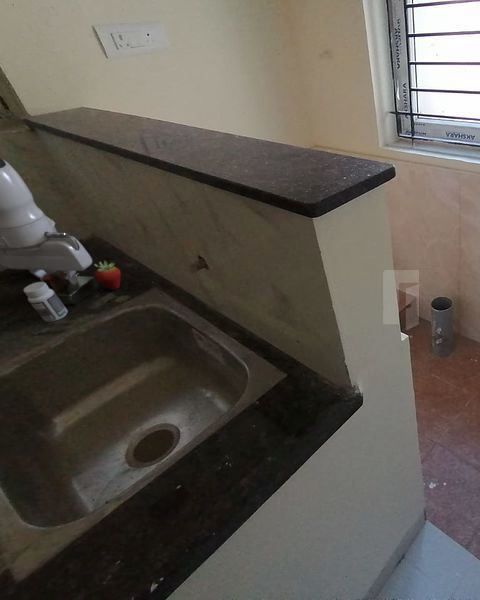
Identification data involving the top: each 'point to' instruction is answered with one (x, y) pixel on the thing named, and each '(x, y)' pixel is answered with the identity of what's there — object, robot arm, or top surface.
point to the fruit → (108, 275)
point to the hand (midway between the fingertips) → (61, 282)
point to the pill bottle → (45, 302)
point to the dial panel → (77, 290)
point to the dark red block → (56, 280)
